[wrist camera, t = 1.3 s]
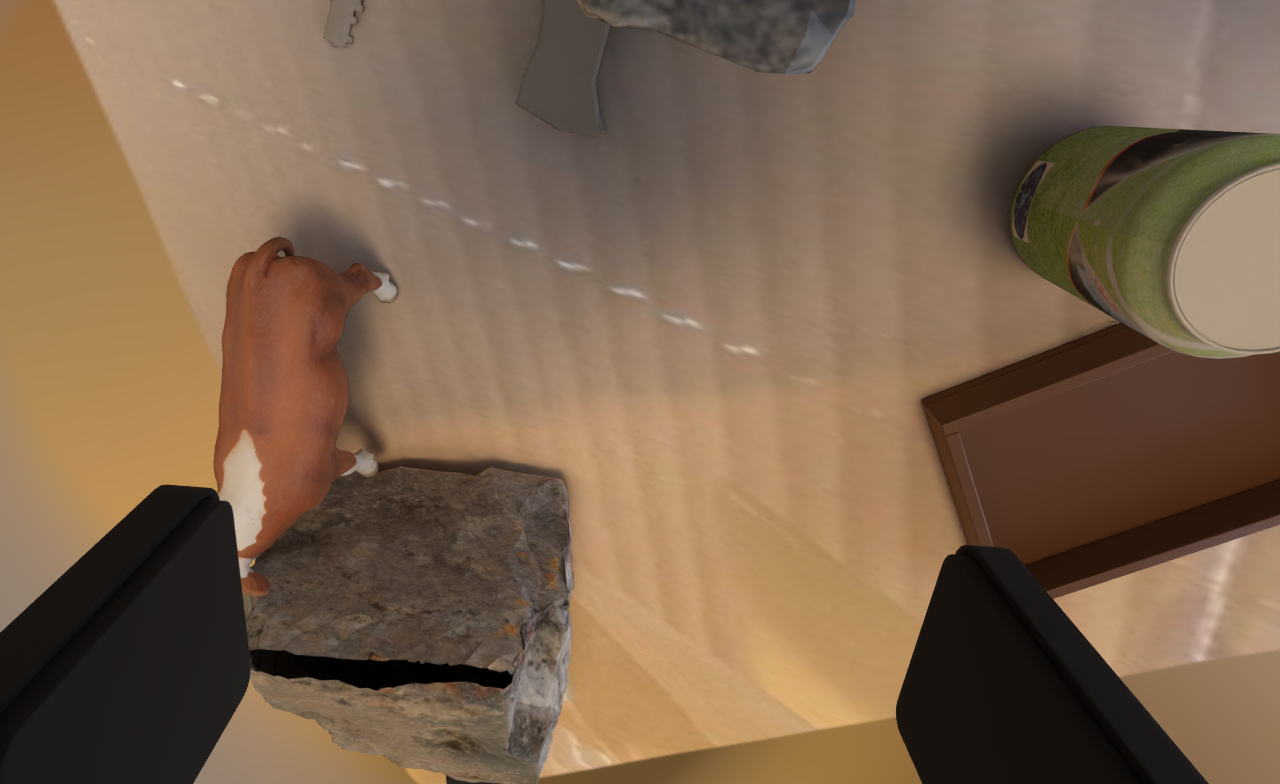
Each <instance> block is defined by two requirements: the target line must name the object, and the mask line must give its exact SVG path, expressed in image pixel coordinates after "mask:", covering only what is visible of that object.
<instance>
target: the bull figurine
mask: <svg viewBox="0 0 1280 784" xmlns="http://www.w3.org/2000/svg"><path fill="white" fill-rule="evenodd" d="M281 250H283V251H284V253H285V257H279V256H278V255H277V253H278V252H279V251H281ZM368 292H371V293H373V294H375V296H376V297H377V299H378V300H379V301H380V302H383V303H393V302H394V301H395V300H396V298H397V294H398V292H397V288H396V286H395V285H394V284H392V283H390V282H389V275H388V274H387V273H384V272H373V271H370V270H368V269H366V268H365V267H364V266H363V264H360V263H355V264H353V265H352V266H351V267H350V268H349V269H348V270H347V271H346V272H344V273H341V274H337V273H336V272H335V271H333V270H332V269H331V268H329V267H328V266H326V265H325V264H323V263H322V262H320V261H317V260H314V259H311V258H308V257H299V256H295V252H294V248H293V245H292V243H291V242H290V241H289V240H287V239H286V238H283V237H276V238H273V239H271V240H269V241H267V242H266V243H264V244H263V245H262V246H261V247H260V248H259V249H258V250H257V251H256V252H249V253H245V254H244V255H242V256H241V257H240V258H238V260H237V261H236V262H235V264H234V266H233V268H232V271H231V275H230V278H229V281H228V285H227V294H226V298H227V303H226V319H225V325H224V330H223V336H222V351H223V368H222V384H221V395H220V403H219V430H218V435H217V440H216V445H215V453H214V473H215V478H216V481H217V486H218V492H217V494H218V496H219V499H220V500H222V501H228V502H229V503H230V504H231V506H232V509H233V515H234V523H235V532H236V541H237V549H238V558H239V567H240V575H241V584H242V592H243V593H245V594H248V595H252V596H264V595H267V594H268V593H269V592H270V588H271V585H270V583H269V581H268V580H267V579H266V578H265V577H264V576H262V575H261V574H259V573H256V572H254V571H252V570H251V568H250V566H249V565H250V564H251V562H252V560H254V559H255V558H256V557H258V556H259V555H260V554H261V553H262V552H264V551H265V550H266V549H268V548H269V547H271V546H272V544H273V543H274V542H275V541H276V540H277V539H279V538H280V537H281V536H282V535H283V534H284V533H285V532H286V531H287V530H288V529H289V528H290V527H291V526H292V525H293V524H294V523H295V522H296V520H297V519H298V518H299V517H300V516H301V515H302V514H303V513H305V512H307V511H310V510H312V509H314V508H316V507H317V506H318V505H319V504H320V503H321V502H322V500H323V499H324V498H325V496H326V495H327V493H328V491H329V488H330V486H331V482H333V481H334V480H336V479H337V478H338V477H340V476H345V475H349V474H351V473H352V472H354V471H358V472H359V473H360V474H361V475H362V476H364V477H372V476H374V475H375V474H376V473H377V471H378V463H377V461H376V460H374V459H373V457H374V456H373V454H372V453H368V452H367V451H366V449H360V450H359V451H358V452H357V453H355V454H354V455H353V454H352V453H351V452H349V451H341V450H339V449H337V448H336V446H335V443H336V439H337V436H338V433H339V430H340V428H341V426H342V423H343V420H344V418H345V415H346V411H347V406H348V401H349V385H348V379H347V375H346V372H345V369H344V366H343V364H342V361H341V359H340V356H339V353H338V350H337V342H338V340H339V339H340V337H341V335H342V332H343V329H344V324H345V318H346V315H347V313H348V311H349V309H350V308H351V307H352V306H353V305H354V304H355V303H356V302H358V301H359V299H360V298H361V297H362V296H363V295H364V294H366V293H368Z"/></svg>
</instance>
